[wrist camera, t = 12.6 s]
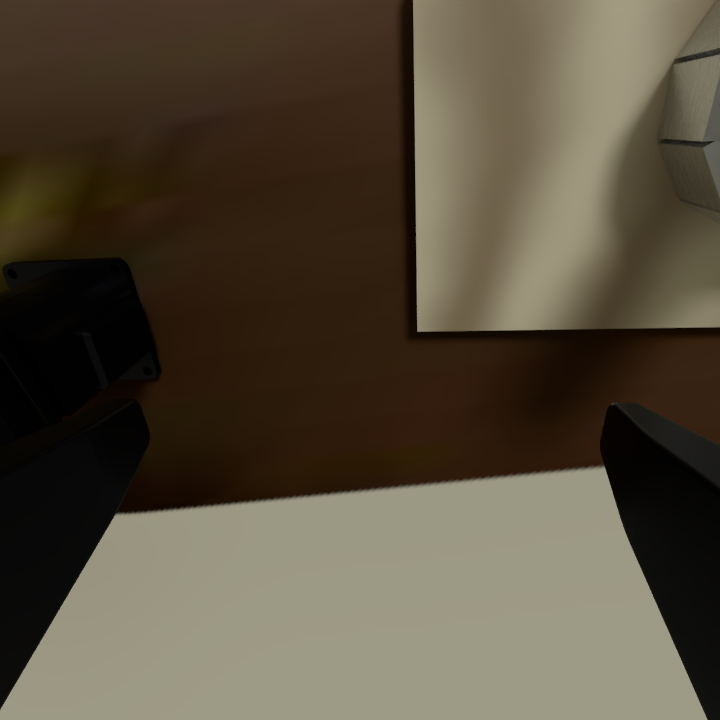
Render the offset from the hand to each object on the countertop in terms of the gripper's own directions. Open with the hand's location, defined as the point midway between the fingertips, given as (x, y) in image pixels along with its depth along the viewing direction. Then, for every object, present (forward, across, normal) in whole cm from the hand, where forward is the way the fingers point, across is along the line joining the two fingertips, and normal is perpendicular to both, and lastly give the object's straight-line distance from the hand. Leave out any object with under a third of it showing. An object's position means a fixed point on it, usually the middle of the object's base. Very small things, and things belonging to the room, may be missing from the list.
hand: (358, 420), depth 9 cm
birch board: (+13, -10, -3) cm, 17 cm away
